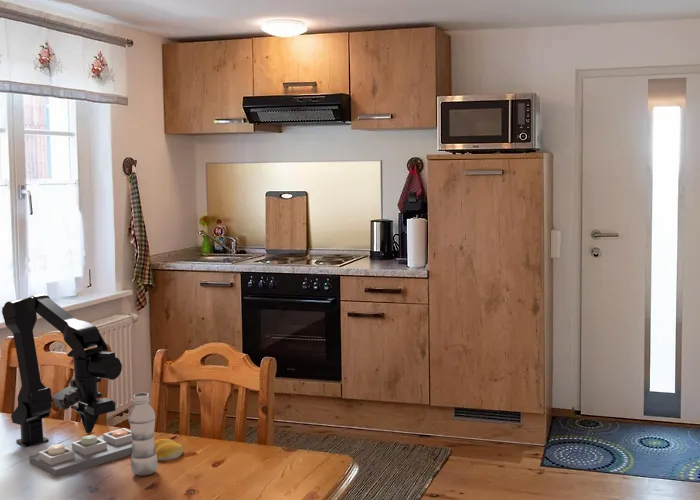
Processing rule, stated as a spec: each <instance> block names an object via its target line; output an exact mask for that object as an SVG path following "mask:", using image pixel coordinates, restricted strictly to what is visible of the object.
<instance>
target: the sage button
mask: <svg viewBox="0 0 700 500" xmlns="http://www.w3.org/2000/svg"><path fill="white" fill-rule="evenodd" d="M97 437H98V436H97V435H94V434H90V435H88V434H87V435H85V436H84V435H83V436H82V437H81V438H80V440H81V445H82V446H84V447H87V446H91V445H94V444H97Z"/></svg>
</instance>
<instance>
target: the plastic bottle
mask: <svg viewBox="0 0 700 500" xmlns="http://www.w3.org/2000/svg"><path fill="white" fill-rule="evenodd" d="M132 398H133V401H132V404H134V405H133V406H132V408H131V409H130V411H129V413H128V424H129V427H130V428H129V429H130V431H131V436H132V454H131V456H130V457H131V458H130V469H131V471H132V473H133V474H134V475H135V476H144V477H145V476H149V475H151V474H154V473H155V472H156V470H157V469H158V464H159V463H158V462H159V460H157V455H156V452H155V444H154V442H155V425H156V424H155V423H156V413H155V410H154V409H153V407H152V406H151V404H150V394H149V393H147V392H138V393H135V394H133V397H132Z"/></svg>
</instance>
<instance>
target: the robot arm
mask: <svg viewBox="0 0 700 500" xmlns="http://www.w3.org/2000/svg"><path fill="white" fill-rule="evenodd" d="M1 309H2V310H1V313H2V318H3V321H4V324H5V326H6V328H7V329H8V330H10V332H11V333H12V334H13V341H14V346H15V352H16V358H17V365H18V370H19V371H18V372H19V377H20V383H21V387H20V390H19V393H18V395H17V407H16V408H15V409H14V411H13V412H12V413H11V414H10V418H11V421H12V424H16V425H20V427H19V428H20V438H18V439H16V440H15V442H16V443H18V444H20V445H22V446H24V447H25V448H27V447H31V446H32V447H33V446H35V445H39V444H42V443H47V442H49V441H50V440H49V438H47V437H46V436H44V427H43V425H44V424H43V419H46V418H49V417H50V414H51V410H52V407H53V402H54V403H55V406H56V408H59V409H61V410H63V411H66V410H68V409H72V410H74V411H75V412H77V413H78V415H79V418H80V421H81V422H82V426H83V428H84V431H85V433H86V434H87V435H88V434H91V433H92V432H93V429H94V427H95V425H96V423H97V421H98V418H99V417H100V415H101V416H102V415H104V414H109V413H111V412H115V411H116V410H117V404H116V403H117V402H116V401H114V400H113V399H111V398H107V397H103V396H102V395H103V394H102V392H100V391H99V383H100V382H102V379H105V380H111V381H112V380H113V381H114V380H116V379H117V378H119V376H120V375H121V373H122V370H123V369H122V368H123V363H121V362H122V361H121V360H120V359H119V358H118V357H117V356H116V353H115V352H114V351H109V347H108V345H107V344H108V343H106V341H105V340H104V338H103V337H102V334H101V333H100V330H99V329H98V327H97V326H96V325H94V324H92V323H90V322H88V321H84V320H80V319H77V318H75V317H74V316H72V315H71V314H70V313H69V312H68V311H66V310H65V309H64V308H63V307H61V306H60V305H58V304H57V303H56V302H54V300H52V299H51V297H50V296H49V295H48V294H46V293H39V294H33V295H30V296H29V297H26V298H20V299H19V298H18V299H15V300H14V299H13V300H9V301H6V302H5V303H4V305H3V307H1ZM38 315H39V316H40V317H41V318H42V319H44V320H45V321H46V322H48V323H49V324H50V325H51V326H53V327H54V328H55V329H56V330H58V331H59V332H60V333H61V334H62V337H63V341H64V342H65V344H67V345H68V347H69V348H70V349H71V350H70V351H69V352H68V353H67V357H69V358H73V359H72V360H73V361H72V362H73V376H74V377H73V378H71V379H70V381H69V382H70V383H69V386H67V387H65V388H63V389H61V390H59V391H58V392H56V393H54V394H53V395H52V390H51V388H50V386H49V387H46V386H45V385H44V383H43V382H42V379H41V372H40V366H39V361H38V355H37V354H38V353H37V348H36V342H35V337H34V328H35V325H36V324H37V320H38ZM108 351H109V352H108ZM102 397H103V398H102Z"/></svg>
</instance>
